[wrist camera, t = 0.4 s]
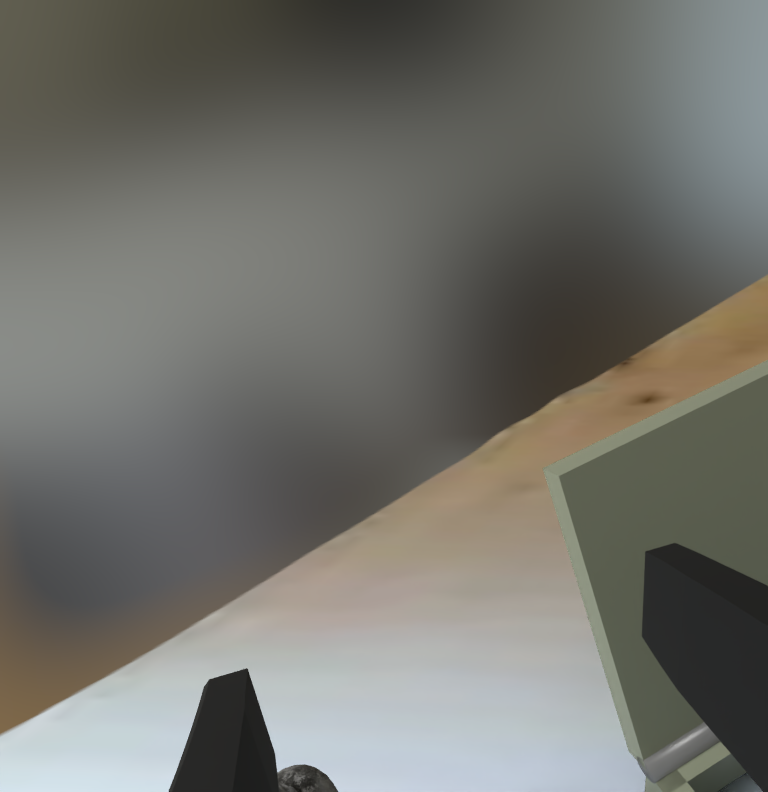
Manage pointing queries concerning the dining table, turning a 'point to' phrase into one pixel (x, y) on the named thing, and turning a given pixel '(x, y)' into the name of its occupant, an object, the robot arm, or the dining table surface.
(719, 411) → the equipment case
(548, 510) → the dining table surface
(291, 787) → the grey tall tiered piece
